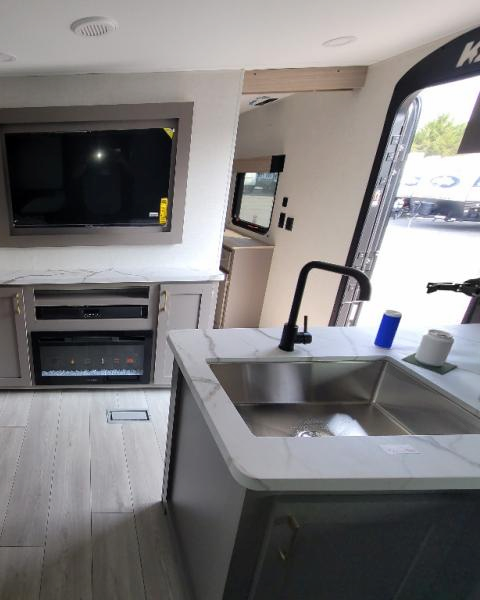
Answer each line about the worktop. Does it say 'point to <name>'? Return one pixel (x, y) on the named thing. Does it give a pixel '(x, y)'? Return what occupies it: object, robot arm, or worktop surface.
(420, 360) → the can
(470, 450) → the worktop surface
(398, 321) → the beverage can
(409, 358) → the mat
